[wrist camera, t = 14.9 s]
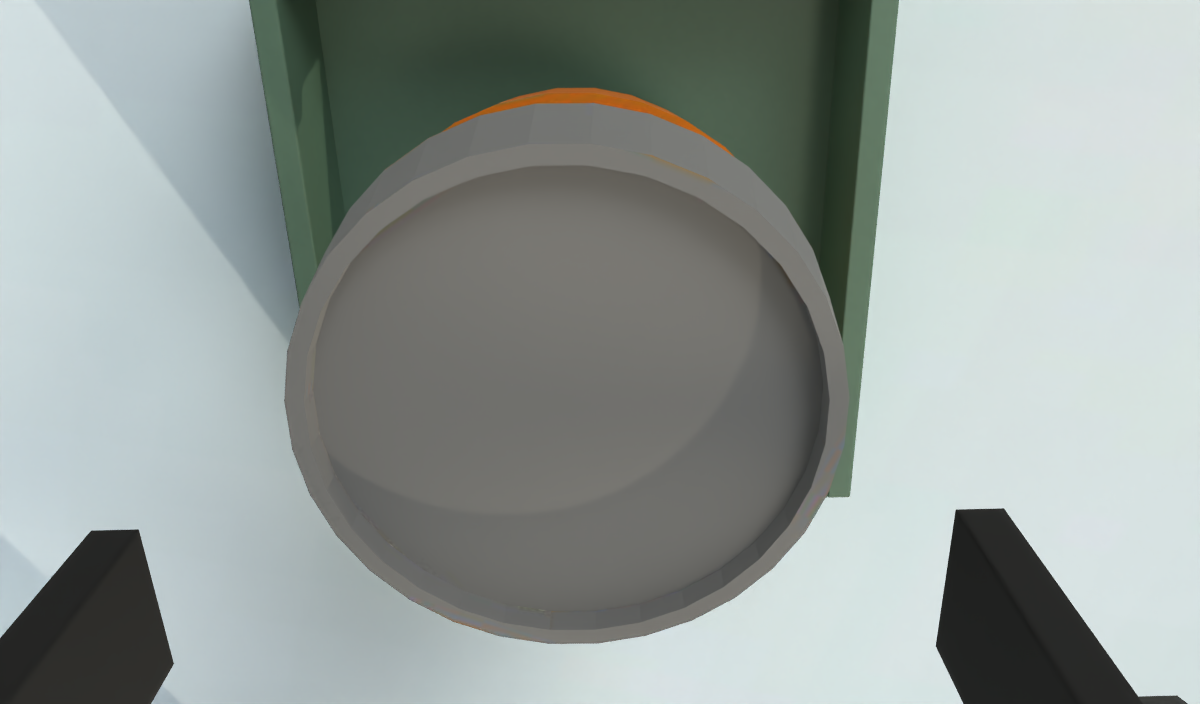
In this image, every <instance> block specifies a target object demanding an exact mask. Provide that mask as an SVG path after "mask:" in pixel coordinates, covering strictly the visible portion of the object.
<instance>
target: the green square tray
mask: <svg viewBox="0 0 1200 704" xmlns="http://www.w3.org/2000/svg"><path fill="white" fill-rule="evenodd" d="M249 3H250V9H251V15H252V21H253V27H254V33H255V39H256V45H257V51H258V57H259V64H260V70H261V76H262V82H263V88H264V94H265V100H266V106H267V112H268V118H269V124H270V131H271V137H272V143H273V149H274V155H275V161H276V167H277V173H278V179H279V185H280V191H281V198H282V204H283V210H284V216H285V222H286V228H287V234H288V240H289V246H290V252H291V258H292V265H293V271H294V277H295V283H296V289H297V295H298V301H299V307H300V306H301V303H302V300H303V298H304V296H305V294H306V292H307V290H308V288H309V286H310V283H311V281H312V279H313V277H314V275H315V273H316V271H317V268H318V266H319V264H320V262H321V260H322V258H323V256H324V254H325V252H326V250H327V248H328V246H329V245H330V243H331V241H332V239H333V237H334V236H335V234H336V232H337V230H338V228H339V227H340V225H341V223H342V221H343V220H344V218H345V216H346V214H347V212H348V211H349V209H350V208H351V207H352V205H353V204H354V203H355V202H356V201H357V200H358V199H359V198H360V197H361V195H362V194H363V193H364V192H365V191H366V190H367V189H368V188H369V186H370V185H371V184H372V183H373V182H374V181H375V180H376V179H377V178H378V176H379V175H380V174H381V173H382V172H383V171H384V170H385V169H386V168H388V167H389V166H390V165H392V164H393V163H395V162H396V161H397V160H399V159H400V158H402V157H403V156H404V155H406V154H407V153H408V152H410V151H411V150H413V149H414V148H415V147H417V146H418V145H420V144H421V143H422V142H424V141H425V140H426V139H428V138H430V137H432V136H434V135H437V134H439V133H441V132H442V131H444V130H445V129H447V128H448V127H449V126H451V125H452V124H454V123H455V122H457V121H460V120H462V119H464V118H466V117H469V116H471V115H473V114H476V113H478V112H480V111H482V110H485V109H487V108H489V107H491V106H494V105H496V104H498V103H501V102H504V101H507V100H510V99H512V98H515V97H518V96H522V95H526V94H531V93H536V92H540V91H545V90H550V89H554V88H598V89H603V90H608V91H614V92H619V93H624V94H629V95H633V96H635V97H637V98H640V99H642V100H645V101H647V102H649V103H652V104H654V105H657V106H659V107H661V108H664V109H666V110H668V111H670V112H672V113H673V114H675V115H677V116H679V117H681V118H682V119H684V120H686V121H687V122H689V123H690V124H692V125H693V126H695V127H696V128H698V129H699V130H701V131H702V132H704V133H705V134H707V135H708V136H710V137H711V138H712V139H714V140H715V141H717V142H718V143H720V144H721V145H723V146H724V147H726V149H727V150H728V151H729V152H730V153H731V154H732V155H733V156H734V157H735V158H736V159H738V160H739V161H741V162H742V163H744V164H745V165H747V166H748V167H749V168H750V169H751V170H752V171H753V172H754V173H755V174H756V175H757V176H758V177H759V178H760V179H761V180H762V181H763V182H764V183H765V184H766V185H767V186H768V187H769V188H770V189H771V190H772V192H773V193H774V194H775V195H776V196H777V197H778V198H779V199H780V200H781V201H782V202H783V203H784V204H785V205H786V207H787V208H788V210H789V211H790V213H791V215H792V216H793V218H794V219H795V221H796V223H797V224H798V226H799V228H800V229H801V231H802V232H803V234H804V236H805V237H806V239H807V241H808V242H809V244H810V245H811V247H812V249H813V251H814V254H815V257H816V260H817V263H818V265H819V268H820V271H821V274H822V277H823V280H824V283H825V285H826V288H827V291H828V294H829V297H830V301H831V304H832V308H833V311H834V315H835V318H836V322H837V325H838V329H839V332H840V336H841V339H842V343H843V346H844V353H845V362H846V370H847V379H848V388H849V397H850V398H849V407H848V416H847V426H846V435H845V444H844V448H843V451H842V454H841V457H840V460H839V463H838V466H837V469H836V472H835V475H834V478H833V481H832V484H831V487H830V490H829V492H828V494H827V496H828V497H849V496H850V489H851V479H852V469H853V459H854V448H855V438H856V428H857V418H858V408H859V398H860V388H861V378H862V368H863V358H864V347H865V337H866V327H867V317H868V307H869V297H870V287H871V277H872V267H873V256H874V246H875V236H876V226H877V216H878V206H879V196H880V186H881V176H882V165H883V155H884V145H885V135H886V125H887V115H888V105H889V95H890V85H891V74H892V64H893V54H894V44H895V34H896V24H897V14H898V4H899V0H249ZM827 496H826V497H827ZM826 497H825V498H826Z"/></svg>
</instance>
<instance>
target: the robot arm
mask: <svg viewBox="0 0 1200 704" xmlns="http://www.w3.org/2000/svg"><path fill="white" fill-rule="evenodd" d="M936 647H937V649H938V652H939V654H940V656H941V658H942V660H943V662H944V664H945V666H946V668H947V670H948V672H949V674H950V677H951V679H952V681H953V683H954V685H955V687H956V689H957V691H958V693H959V695H960V697H961V699H962V702H963V704H1187V703H1186V702H1185V701H1183V700H1182V699H1181V698H1179V697H1178V696H1145V697H1138V696H1137V694H1136V693H1135V692H1134V690H1133V689H1132V687H1131V686H1130V685H1129V683H1128V682H1127V680H1126V679H1125V678H1124V676H1123V675H1122V673H1121V672H1120V671H1119V669H1118V668H1117V666H1116V665H1115V664H1114V662H1113V661H1112V659H1111V658H1110V657H1109V655H1108V654H1107V652H1106V651H1105V650H1104V648H1103V647H1102V645H1101V644H1100V643H1099V641H1098V640H1097V638H1096V637H1095V636H1094V634H1093V633H1092V631H1091V630H1090V629H1089V627H1088V626H1087V624H1086V623H1085V622H1084V620H1083V619H1082V617H1081V616H1080V615H1079V613H1078V612H1077V610H1076V609H1075V608H1074V606H1073V605H1072V603H1071V602H1070V601H1069V599H1068V598H1067V596H1066V595H1065V594H1064V592H1063V591H1062V589H1061V588H1060V587H1059V585H1058V584H1057V582H1056V581H1055V580H1054V578H1053V577H1052V575H1051V574H1050V573H1049V571H1048V570H1047V568H1046V567H1045V566H1044V564H1043V563H1042V561H1041V560H1040V559H1039V557H1038V556H1037V554H1036V553H1035V552H1034V550H1033V549H1032V547H1031V546H1030V545H1029V543H1028V542H1027V540H1026V539H1025V538H1024V536H1023V535H1022V533H1021V532H1020V531H1019V529H1018V528H1017V526H1016V525H1015V524H1014V522H1013V521H1012V519H1011V518H1010V517H1009V515H1008V514H1007V512H1006V511H1005V510H1004V509H966V510H956V512H955V519H954V526H953V533H952V540H951V546H950V553H949V560H948V567H947V574H946V580H945V587H944V594H943V601H942V608H941V614H940V621H939V628H938V635H937V642H936ZM173 664H174V663H173V659H172V655H171V651H170V648H169V644H168V640H167V636H166V632H165V629H164V625H163V621H162V617H161V613H160V609H159V606H158V602H157V598H156V594H155V590H154V586H153V583H152V579H151V575H150V571H149V567H148V564H147V560H146V556H145V552H144V548H143V544H142V541H141V537H140V533H139V530H102V531H91V532H90V533H89V534H88V535H87V536H86V537H85V539H84V540H83V541H82V542H81V543H80V545H79V546H78V547H77V548H76V549H75V550H74V552H73V553H72V554H71V555H70V556H69V558H68V559H67V560H66V561H65V562H64V563H63V565H62V566H61V567H60V568H59V569H58V571H57V572H56V573H55V574H54V575H53V576H52V578H51V579H50V580H49V581H48V582H47V584H46V585H45V586H44V587H43V588H42V589H41V591H40V592H39V593H38V594H37V595H36V597H35V598H34V599H33V600H32V601H31V603H30V604H29V605H28V606H27V607H26V608H25V610H24V611H23V612H22V613H21V614H20V616H19V617H18V618H17V619H16V620H15V621H14V623H13V624H12V625H11V626H10V627H9V629H8V630H7V631H6V632H5V633H4V634H3V636H2V637H1V638H0V704H151V703H152V701H153V699H154V697H155V696H156V694H157V692H158V690H159V689H160V687H161V685H162V683H163V682H164V680H165V678H166V677H167V675H168V673H169V671H170V670H171V668H172V666H173Z"/></svg>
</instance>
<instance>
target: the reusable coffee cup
mask: <svg viewBox="0 0 1200 704" xmlns="http://www.w3.org/2000/svg"><path fill="white" fill-rule="evenodd" d="M849 398H850V397H849V388H848V379H847V370H846V362H845V353H844V346H843V343H842V339H841V336H840V332H839V329H838V325H837V322H836V318H835V315H834V311H833V308H832V304H831V301H830V297H829V294H828V291H827V288H826V285H825V283H824V280H823V277H822V274H821V271H820V268H819V265H818V263H817V260H816V257H815V254H814V251H813V249H812V247H811V245H810V244H809V242H808V241H807V239H806V237H805V236H804V234H803V232H802V231H801V229H800V228H799V226H798V224H797V223H796V221H795V219H794V218H793V216H792V215H791V213H790V211H789V210H788V208H787V207H786V205H785V204H784V203H783V202H782V201H781V200H780V199H779V198H778V197H777V196H776V195H775V194H774V193H773V192H772V190H771V189H770V188H769V187H768V186H767V185H766V184H765V183H764V182H763V181H762V180H761V179H760V178H759V177H758V176H757V175H756V174H755V173H754V172H753V171H752V170H751V169H750V168H749V167H748V166H747V165H745V164H744V163H742V162H741V161H739V160H738V159H736V158H735V157H734V156H733V155H732V154H731V153H730V152H729V151H728V150H727V149H726V147H724V146H723V145H721V144H720V143H718V142H717V141H715V140H714V139H712V138H711V137H710V136H708V135H707V134H705V133H704V132H702V131H701V130H699V129H698V128H696V127H695V126H693V125H692V124H690V123H689V122H687V121H686V120H684V119H682V118H681V117H679V116H677V115H675V114H673V113H672V112H670V111H668V110H666V109H664V108H661V107H659V106H657V105H654V104H652V103H649V102H647V101H645V100H642V99H640V98H637V97H635V96H633V95H629V94H624V93H619V92H614V91H608V90H603V89H598V88H554V89H550V90H545V91H540V92H536V93H531V94H526V95H522V96H518V97H515V98H512V99H510V100H507V101H504V102H501V103H498V104H496V105H494V106H491V107H489V108H487V109H485V110H482V111H480V112H478V113H476V114H473V115H471V116H469V117H466V118H464V119H462V120H460V121H457V122H455V123H454V124H452V125H451V126H449V127H448V128H447V129H445V130H444V131H442V132H441V133H439V134H437V135H434V136H432V137H430V138H428V139H426V140H425V141H424V142H422V143H421V144H420V145H418V146H417V147H415V148H414V149H413V150H411V151H410V152H408V153H407V154H406V155H404V156H403V157H402V158H400V159H399V160H397V161H396V162H395V163H393V164H392V165H390V166H389V167H388V168H386V169H385V170H384V171H383V172H382V173H381V174H380V175H379V176H378V178H377V179H376V180H375V181H374V182H373V183H372V184H371V185H370V186H369V188H368V189H367V190H366V191H365V192H364V193H363V194H362V195H361V197H360V198H359V199H358V200H357V201H356V202H355V203H354V204H353V205H352V207H351V208H350V209H349V211H348V212H347V214H346V216H345V218H344V220H343V221H342V223H341V225H340V227H339V228H338V230H337V232H336V234H335V236H334V237H333V239H332V241H331V243H330V245H329V246H328V248H327V250H326V252H325V254H324V256H323V258H322V260H321V262H320V264H319V266H318V268H317V271H316V273H315V275H314V277H313V279H312V281H311V283H310V286H309V288H308V290H307V292H306V294H305V296H304V298H303V300H302V303H301V306H300V310H299V313H298V317H297V320H296V323H295V327H294V330H293V334H292V337H291V340H290V344H289V347H288V351H287V366H286V383H285V400H284V401H285V408H286V414H287V420H288V426H289V432H290V438H291V444H292V450H293V452H294V455H295V457H296V460H297V463H298V465H299V468H300V470H301V473H302V475H303V478H304V480H305V483H306V485H307V488H308V491H309V493H310V495H311V497H312V498H313V500H314V501H315V503H316V505H317V506H318V508H319V509H320V511H321V512H322V514H323V515H324V517H325V518H326V520H327V522H328V523H329V525H330V526H331V528H332V529H333V531H334V532H335V534H336V535H337V536H338V538H339V539H340V540H341V541H342V542H343V543H344V544H345V545H346V546H347V547H348V548H349V549H350V550H351V551H352V552H353V553H354V554H355V555H356V556H357V557H358V559H359V560H360V561H361V562H362V563H363V564H364V565H365V566H366V567H367V568H368V569H369V570H370V571H371V572H373V573H374V574H375V575H377V576H378V577H379V578H381V579H382V580H384V581H385V582H386V583H388V584H389V585H390V586H392V587H393V588H394V589H396V590H397V591H398V592H400V593H401V594H403V595H404V596H405V597H407V598H408V599H409V600H411V601H413V602H415V603H417V604H419V605H421V606H423V607H425V608H427V609H429V610H431V611H433V612H435V613H437V614H439V615H441V616H443V617H445V618H447V619H449V620H451V621H453V622H456V623H460V624H463V625H466V626H469V627H472V628H475V629H479V630H482V631H485V632H488V633H491V634H494V635H498V636H502V637H508V638H515V639H521V640H528V641H535V642H541V643H548V644H567V643H603V642H609V641H615V640H622V639H628V638H634V637H640V636H646V635H649V634H652V633H655V632H658V631H661V630H664V629H667V628H670V627H673V626H676V625H679V624H682V623H685V622H688V621H692V620H694V619H696V618H697V617H699V616H701V615H703V614H705V613H707V612H709V611H711V610H713V609H715V608H716V607H718V606H720V605H722V604H724V603H726V602H728V601H730V600H732V599H734V598H735V597H737V596H738V595H739V594H740V593H742V592H743V591H744V590H746V589H747V588H748V587H749V586H751V585H752V584H753V583H755V582H756V581H757V580H759V579H760V578H761V577H762V576H764V575H765V574H766V573H768V572H769V571H770V570H771V569H773V568H774V567H775V565H776V564H777V563H778V562H779V561H780V560H781V559H782V558H783V556H784V555H785V554H786V553H787V552H788V551H789V550H790V549H791V547H792V546H793V545H794V544H795V543H796V542H797V541H798V540H799V539H800V537H801V536H802V535H803V534H804V533H805V531H806V530H807V528H808V526H809V524H810V523H811V521H812V519H813V518H814V516H815V514H816V513H817V511H818V509H819V508H820V506H821V504H822V502H823V501H824V499H825V497H826V496H827V494H828V492H829V490H830V487H831V484H832V481H833V478H834V475H835V472H836V469H837V466H838V463H839V460H840V457H841V454H842V451H843V448H844V444H845V435H846V426H847V416H848V407H849Z"/></svg>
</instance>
